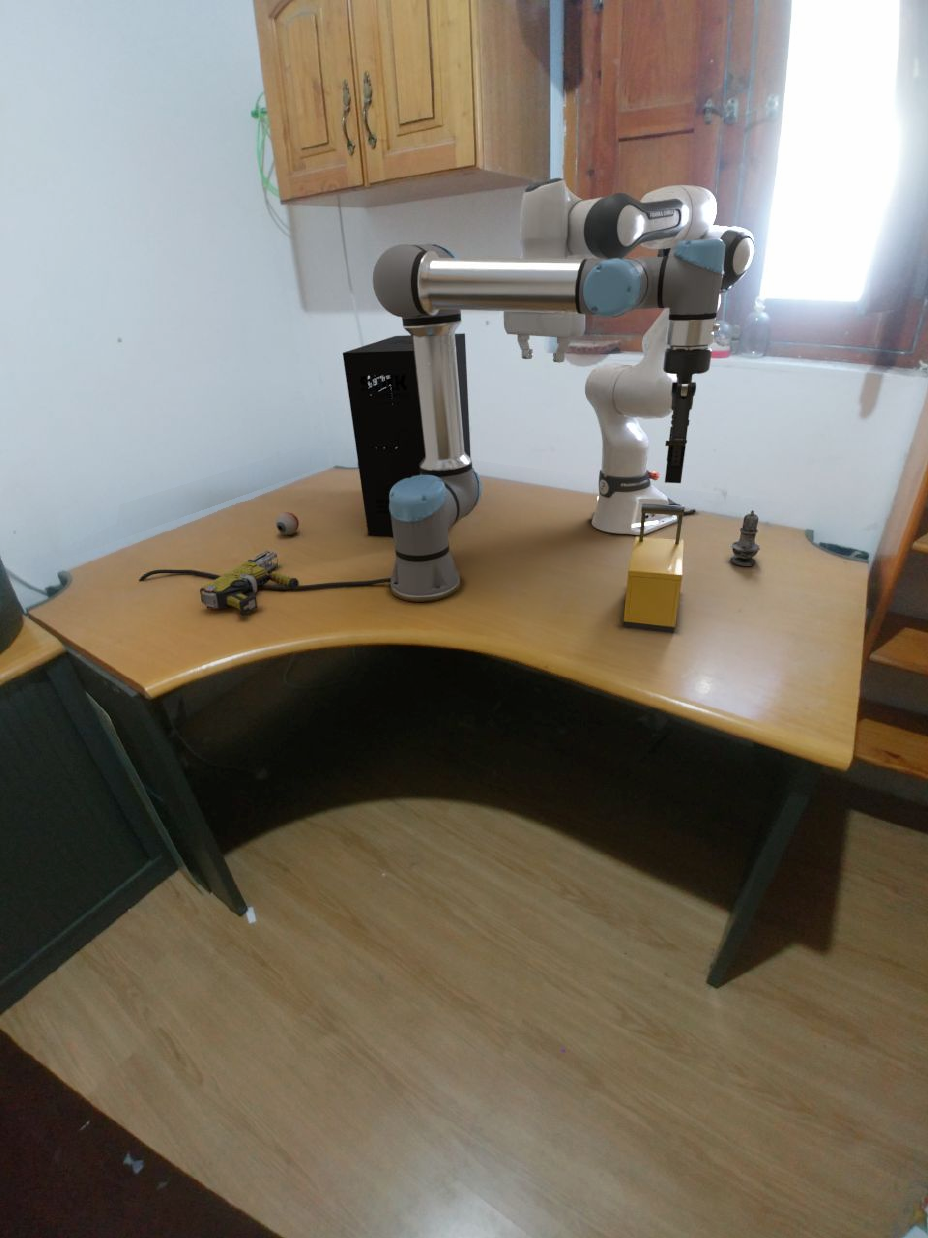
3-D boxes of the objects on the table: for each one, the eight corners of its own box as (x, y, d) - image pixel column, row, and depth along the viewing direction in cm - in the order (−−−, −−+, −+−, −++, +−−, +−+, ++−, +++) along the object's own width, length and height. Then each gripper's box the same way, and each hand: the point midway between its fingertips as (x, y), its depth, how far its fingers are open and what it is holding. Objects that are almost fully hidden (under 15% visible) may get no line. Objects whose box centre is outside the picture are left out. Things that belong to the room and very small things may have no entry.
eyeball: (273, 537, 164) (268, 516, 161) (287, 528, 169) (282, 508, 166) (291, 539, 161) (286, 518, 158) (305, 530, 166) (301, 510, 163)
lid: (635, 541, 122) (639, 499, 118) (682, 545, 120) (688, 502, 115) (627, 575, 109) (632, 530, 105) (681, 580, 107) (688, 534, 102)
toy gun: (318, 559, 142) (264, 548, 146) (255, 602, 122) (194, 588, 125) (320, 577, 144) (266, 565, 148) (258, 622, 124) (198, 608, 128)
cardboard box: (441, 538, 157) (426, 350, 134) (368, 534, 161) (342, 352, 139) (472, 491, 188) (464, 333, 166) (410, 490, 193) (395, 335, 170)
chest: (630, 590, 127) (634, 543, 122) (676, 594, 124) (682, 546, 119) (623, 626, 115) (627, 576, 109) (674, 632, 112) (681, 581, 107)
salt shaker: (759, 566, 133) (770, 515, 127) (731, 565, 134) (740, 514, 128) (754, 555, 138) (764, 505, 132) (726, 555, 139) (735, 505, 133)
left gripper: (715, 356, 90) (695, 493, 101) (709, 338, 111) (693, 453, 121) (663, 357, 92) (649, 491, 103) (667, 339, 113) (655, 452, 123)
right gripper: (594, 280, 110) (591, 362, 117) (521, 282, 124) (521, 355, 131) (570, 282, 107) (567, 366, 114) (497, 284, 121) (499, 358, 128)
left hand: (673, 471), depth 112 cm, fingers open, 13 cm apart
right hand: (542, 360), depth 123 cm, fingers open, 8 cm apart
